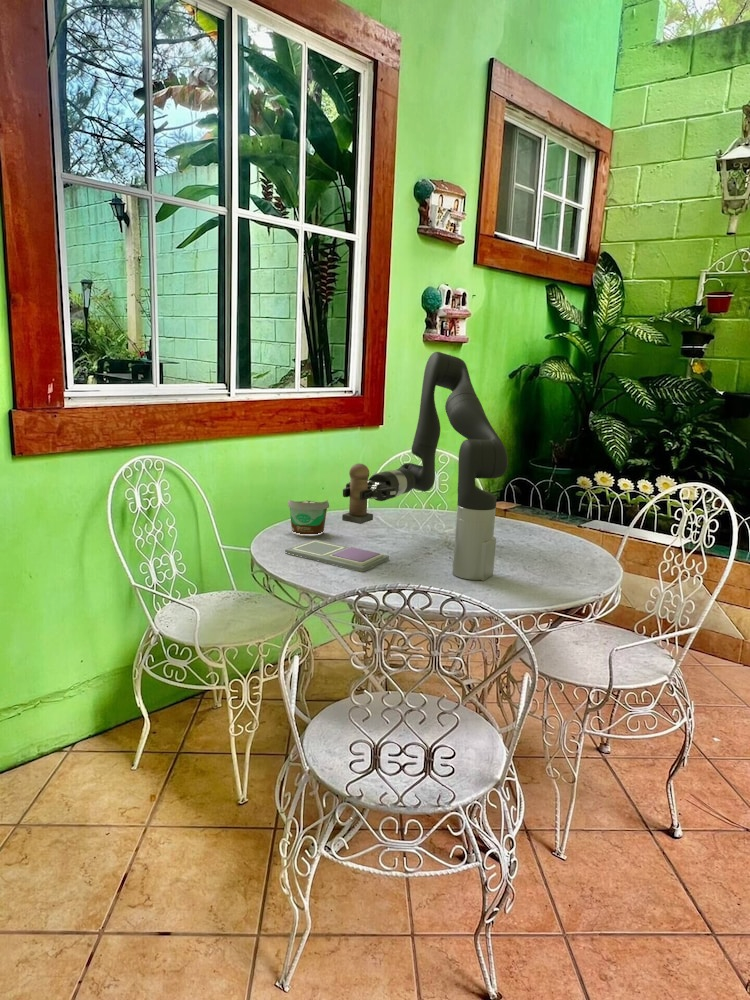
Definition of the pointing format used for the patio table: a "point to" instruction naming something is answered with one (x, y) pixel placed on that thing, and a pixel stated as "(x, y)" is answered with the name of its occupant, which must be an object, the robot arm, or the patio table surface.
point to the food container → (308, 516)
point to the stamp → (358, 495)
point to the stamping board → (338, 555)
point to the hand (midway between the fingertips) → (352, 494)
